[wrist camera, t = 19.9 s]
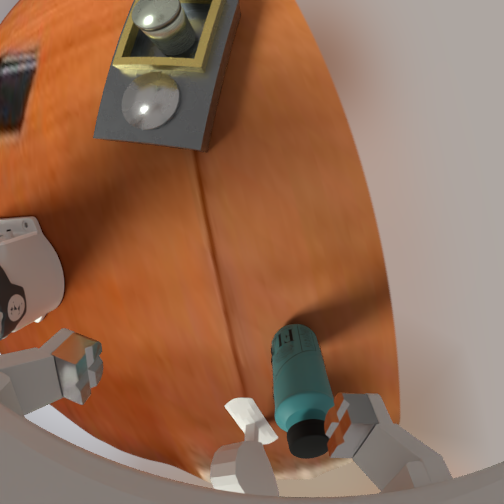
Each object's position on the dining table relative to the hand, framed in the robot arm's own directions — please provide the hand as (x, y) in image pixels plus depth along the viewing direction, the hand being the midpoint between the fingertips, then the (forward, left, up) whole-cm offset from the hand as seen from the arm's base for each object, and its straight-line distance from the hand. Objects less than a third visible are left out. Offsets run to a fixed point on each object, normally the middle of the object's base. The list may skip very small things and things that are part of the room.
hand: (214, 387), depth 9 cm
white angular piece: (+7, -33, -29) cm, 45 cm away
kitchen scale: (-14, +18, -29) cm, 37 cm away
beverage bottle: (+9, -14, -29) cm, 34 cm away
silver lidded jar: (-14, +22, -28) cm, 38 cm away
